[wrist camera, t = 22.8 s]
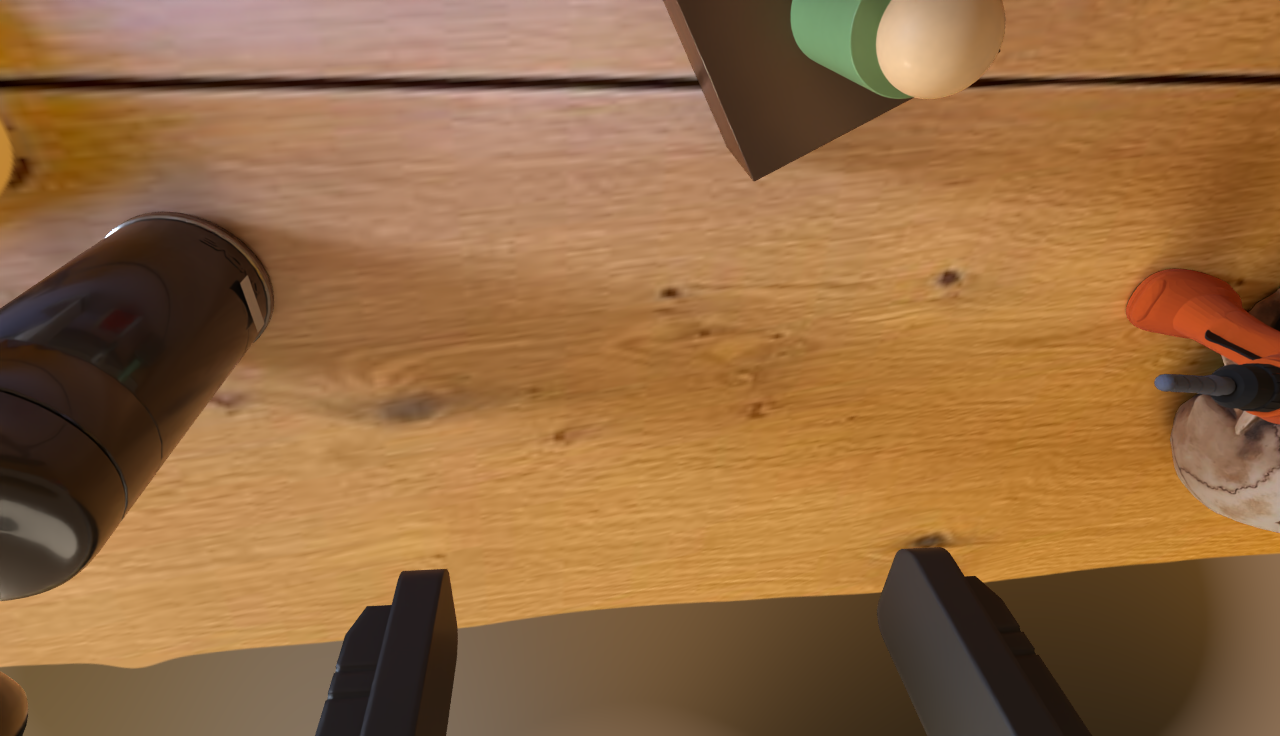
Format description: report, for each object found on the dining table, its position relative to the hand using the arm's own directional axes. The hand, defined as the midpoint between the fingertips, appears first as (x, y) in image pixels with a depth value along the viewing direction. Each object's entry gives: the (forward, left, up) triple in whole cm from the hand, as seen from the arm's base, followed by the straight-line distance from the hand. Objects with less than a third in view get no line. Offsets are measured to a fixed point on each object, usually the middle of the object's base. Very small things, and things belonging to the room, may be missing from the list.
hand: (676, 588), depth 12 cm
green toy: (+13, +1, -26) cm, 29 cm away
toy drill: (+28, -28, -32) cm, 51 cm away
